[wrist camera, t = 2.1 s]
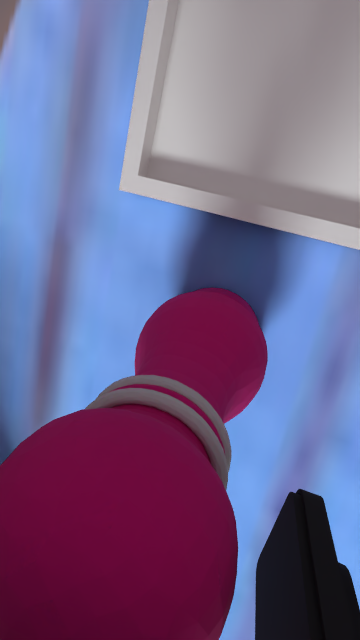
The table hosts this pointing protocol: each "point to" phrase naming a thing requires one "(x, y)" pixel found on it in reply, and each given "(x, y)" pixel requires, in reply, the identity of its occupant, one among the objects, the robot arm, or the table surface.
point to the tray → (251, 113)
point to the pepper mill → (135, 490)
